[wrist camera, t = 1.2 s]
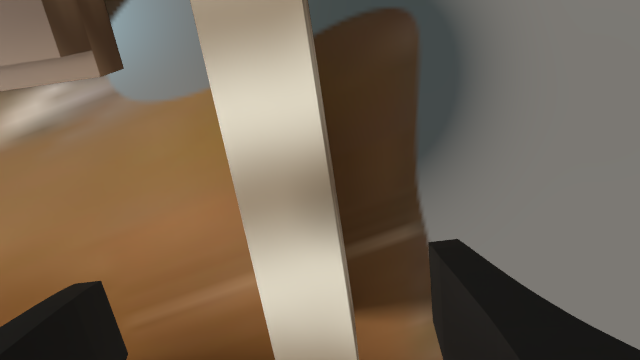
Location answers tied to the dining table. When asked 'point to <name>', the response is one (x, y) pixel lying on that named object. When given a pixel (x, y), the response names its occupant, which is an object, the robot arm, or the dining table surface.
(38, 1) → the walnut ridge
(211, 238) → the dining table surface
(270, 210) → the metal bar
